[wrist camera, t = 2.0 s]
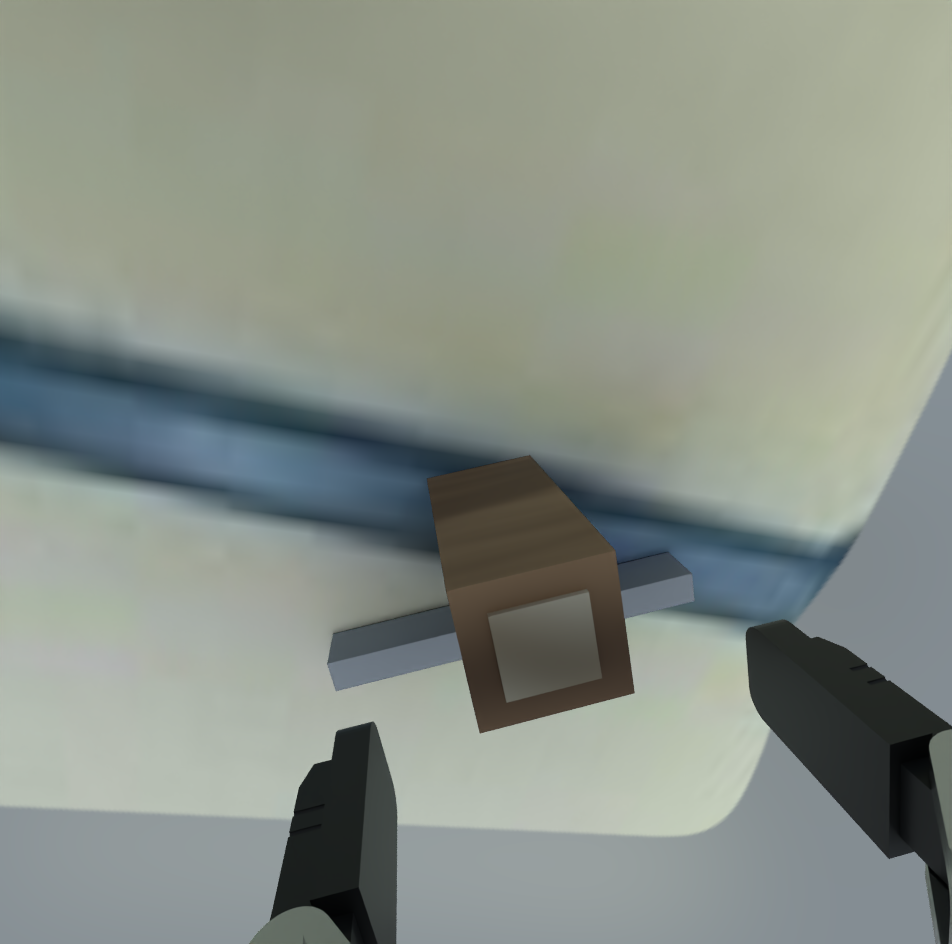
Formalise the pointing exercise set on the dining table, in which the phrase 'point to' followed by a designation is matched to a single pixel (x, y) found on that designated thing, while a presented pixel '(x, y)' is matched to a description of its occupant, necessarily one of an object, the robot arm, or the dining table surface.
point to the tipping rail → (435, 637)
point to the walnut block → (528, 594)
